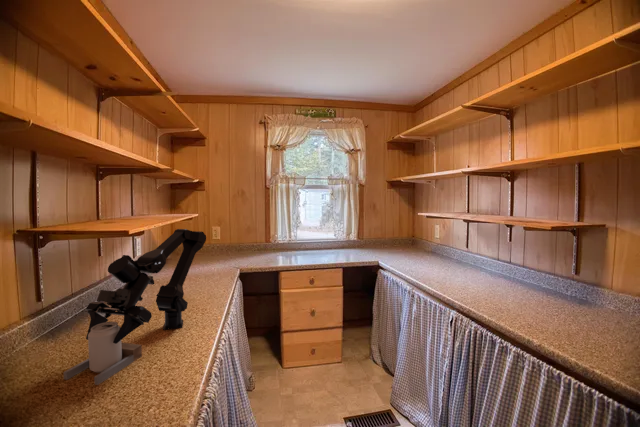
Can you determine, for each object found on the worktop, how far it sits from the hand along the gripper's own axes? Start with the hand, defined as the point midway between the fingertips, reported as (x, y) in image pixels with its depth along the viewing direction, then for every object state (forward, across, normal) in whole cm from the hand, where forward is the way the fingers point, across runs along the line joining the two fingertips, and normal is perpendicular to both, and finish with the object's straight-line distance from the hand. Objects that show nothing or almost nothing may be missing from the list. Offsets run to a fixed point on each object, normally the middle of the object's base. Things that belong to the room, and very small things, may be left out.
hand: (100, 341), depth 80 cm
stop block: (+1, 0, +10) cm, 10 cm away
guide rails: (+6, 0, +6) cm, 8 cm away
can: (+5, 0, +7) cm, 8 cm away
